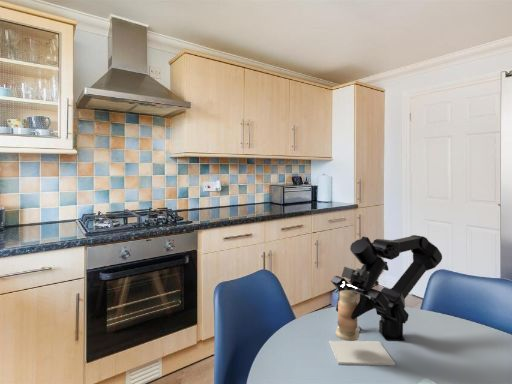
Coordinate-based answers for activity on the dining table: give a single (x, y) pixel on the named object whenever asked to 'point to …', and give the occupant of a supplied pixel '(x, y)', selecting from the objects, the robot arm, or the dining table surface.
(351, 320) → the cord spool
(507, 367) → the dining table surface
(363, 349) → the mat
